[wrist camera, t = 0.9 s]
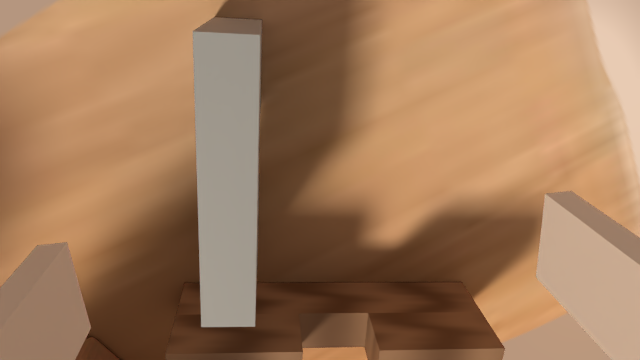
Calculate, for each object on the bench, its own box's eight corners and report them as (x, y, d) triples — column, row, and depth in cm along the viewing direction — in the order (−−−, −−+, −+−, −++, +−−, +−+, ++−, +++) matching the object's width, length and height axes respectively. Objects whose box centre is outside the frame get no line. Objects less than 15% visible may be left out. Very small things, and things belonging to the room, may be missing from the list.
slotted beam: (186, 315, 40) (167, 392, 32) (184, 282, 39) (165, 354, 31) (456, 313, 42) (496, 383, 35) (461, 282, 41) (504, 348, 34)
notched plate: (217, 242, 38) (201, 327, 28) (214, 16, 32) (192, 31, 23) (258, 242, 38) (255, 326, 29) (262, 19, 32) (260, 34, 23)
